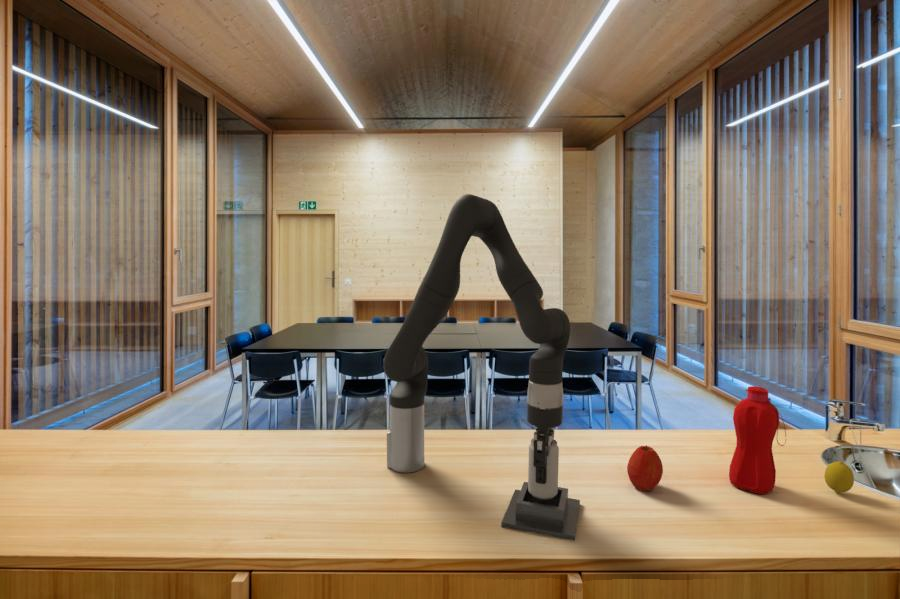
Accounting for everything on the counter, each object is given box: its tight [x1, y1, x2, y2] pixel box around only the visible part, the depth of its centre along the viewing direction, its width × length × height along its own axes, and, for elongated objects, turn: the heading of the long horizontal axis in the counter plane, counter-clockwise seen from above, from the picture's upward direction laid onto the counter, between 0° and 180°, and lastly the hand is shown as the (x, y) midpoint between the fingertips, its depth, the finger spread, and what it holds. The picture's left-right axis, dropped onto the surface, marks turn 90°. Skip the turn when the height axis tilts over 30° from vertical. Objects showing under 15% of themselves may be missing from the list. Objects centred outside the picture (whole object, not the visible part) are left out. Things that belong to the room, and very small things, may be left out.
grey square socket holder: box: [500, 481, 581, 541], centre depth 108 cm, size 15×15×4 cm
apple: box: [626, 445, 664, 492], centre depth 120 cm, size 8×8×11 cm
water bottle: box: [728, 385, 787, 495], centre depth 120 cm, size 9×11×25 cm
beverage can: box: [527, 437, 560, 499], centre depth 107 cm, size 6×6×12 cm
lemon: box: [824, 460, 855, 494], centre depth 118 cm, size 6×6×8 cm
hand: (543, 475), depth 107 cm, fingers closed on beverage can, 6 cm apart
